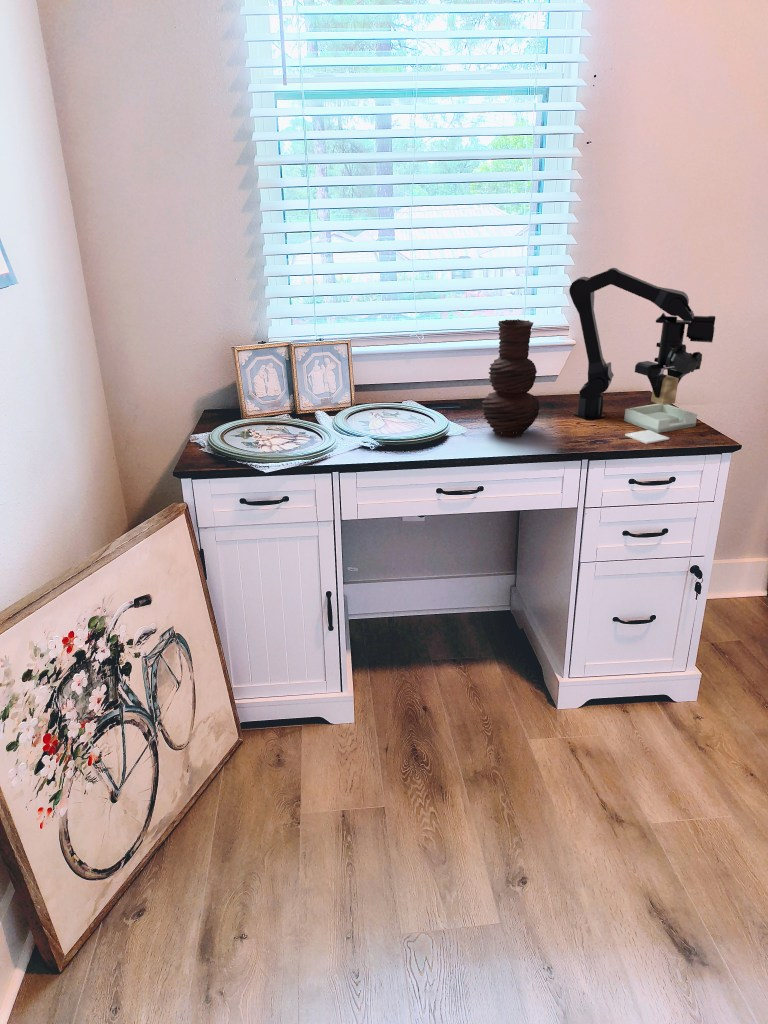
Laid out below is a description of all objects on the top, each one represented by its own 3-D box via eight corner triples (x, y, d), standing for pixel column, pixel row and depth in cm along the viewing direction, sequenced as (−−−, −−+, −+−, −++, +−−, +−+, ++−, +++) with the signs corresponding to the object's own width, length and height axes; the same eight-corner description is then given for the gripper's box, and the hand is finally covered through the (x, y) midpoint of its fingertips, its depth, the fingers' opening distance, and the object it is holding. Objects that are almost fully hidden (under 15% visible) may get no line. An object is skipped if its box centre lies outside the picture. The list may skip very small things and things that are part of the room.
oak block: (662, 405, 209) (666, 380, 206) (650, 401, 212) (654, 376, 209) (675, 403, 210) (678, 378, 207) (663, 399, 214) (666, 374, 211)
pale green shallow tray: (657, 433, 206) (658, 420, 204) (624, 420, 216) (625, 408, 215) (695, 426, 211) (697, 414, 210) (661, 414, 222) (662, 402, 221)
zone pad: (646, 443, 198) (646, 442, 198) (624, 435, 204) (625, 433, 204) (669, 439, 201) (669, 438, 201) (647, 431, 207) (647, 429, 207)
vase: (468, 433, 208) (472, 321, 195) (506, 421, 217) (512, 315, 204) (511, 446, 197) (518, 329, 185) (549, 434, 206) (558, 322, 194)
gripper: (667, 348, 194) (659, 407, 200) (720, 341, 201) (711, 399, 208) (636, 341, 203) (629, 397, 210) (688, 335, 210) (680, 389, 217)
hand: (663, 396), depth 211 cm, fingers closed on oak block, 4 cm apart
